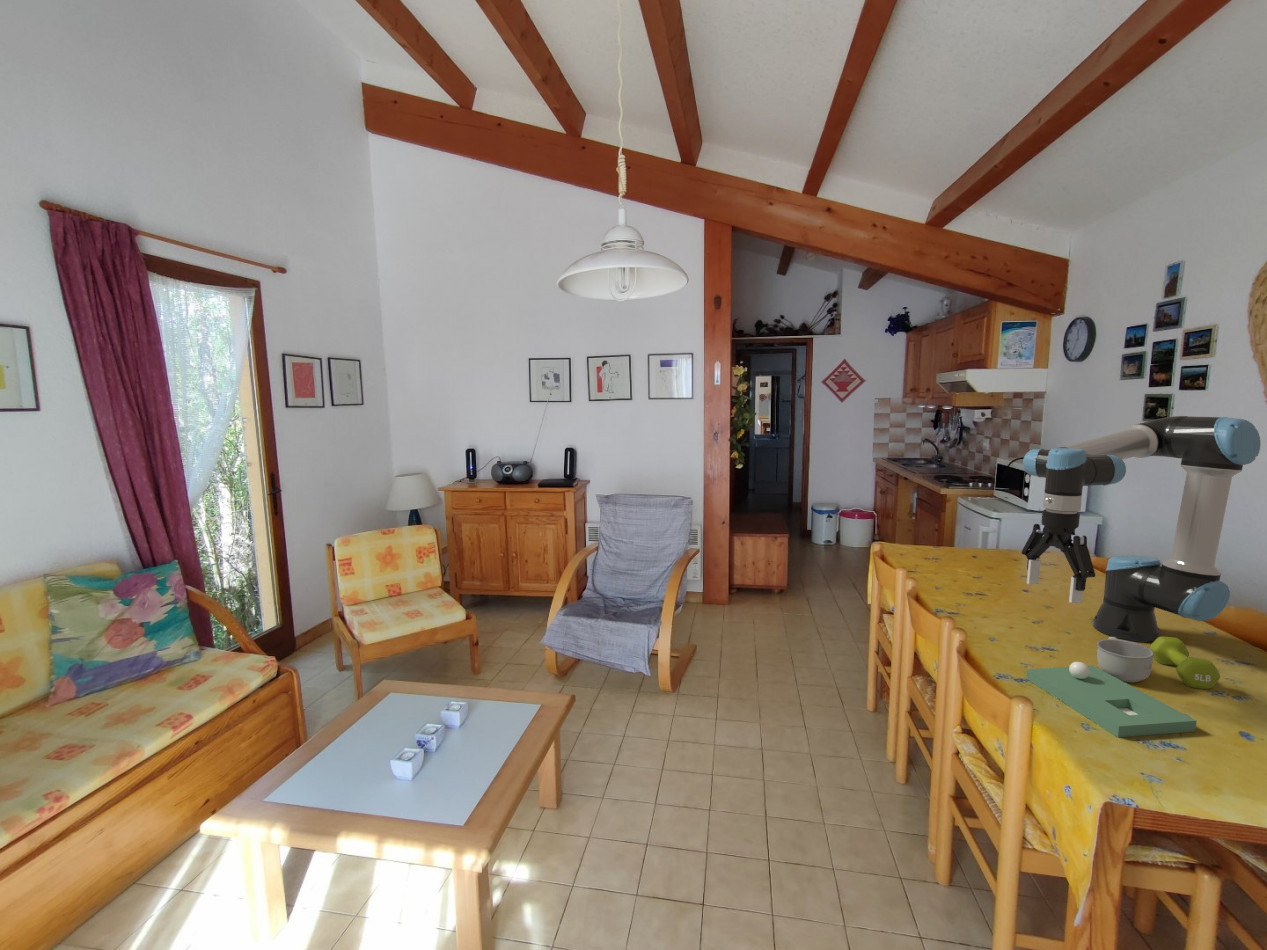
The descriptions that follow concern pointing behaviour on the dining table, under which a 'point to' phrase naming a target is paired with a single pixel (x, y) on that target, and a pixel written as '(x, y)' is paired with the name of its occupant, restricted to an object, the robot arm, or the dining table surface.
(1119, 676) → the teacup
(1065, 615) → the dining table surface
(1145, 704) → the putting mat
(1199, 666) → the dumbbell
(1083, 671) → the ball
